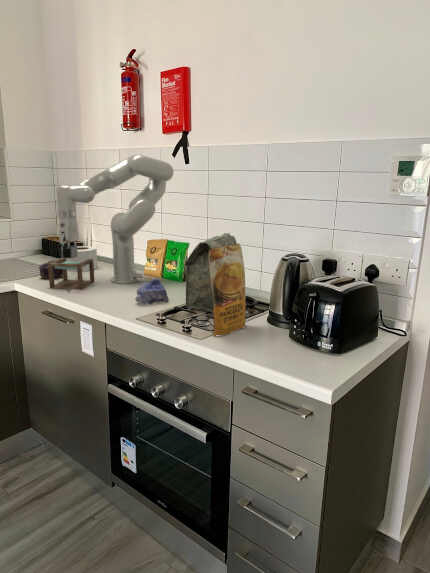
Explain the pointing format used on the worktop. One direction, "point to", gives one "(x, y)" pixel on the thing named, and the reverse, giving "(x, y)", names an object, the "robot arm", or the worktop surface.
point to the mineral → (151, 292)
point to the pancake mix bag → (227, 288)
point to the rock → (45, 273)
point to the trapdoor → (69, 267)
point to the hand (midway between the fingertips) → (69, 256)
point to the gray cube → (71, 251)
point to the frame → (67, 283)
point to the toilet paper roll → (85, 257)
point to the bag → (202, 272)
